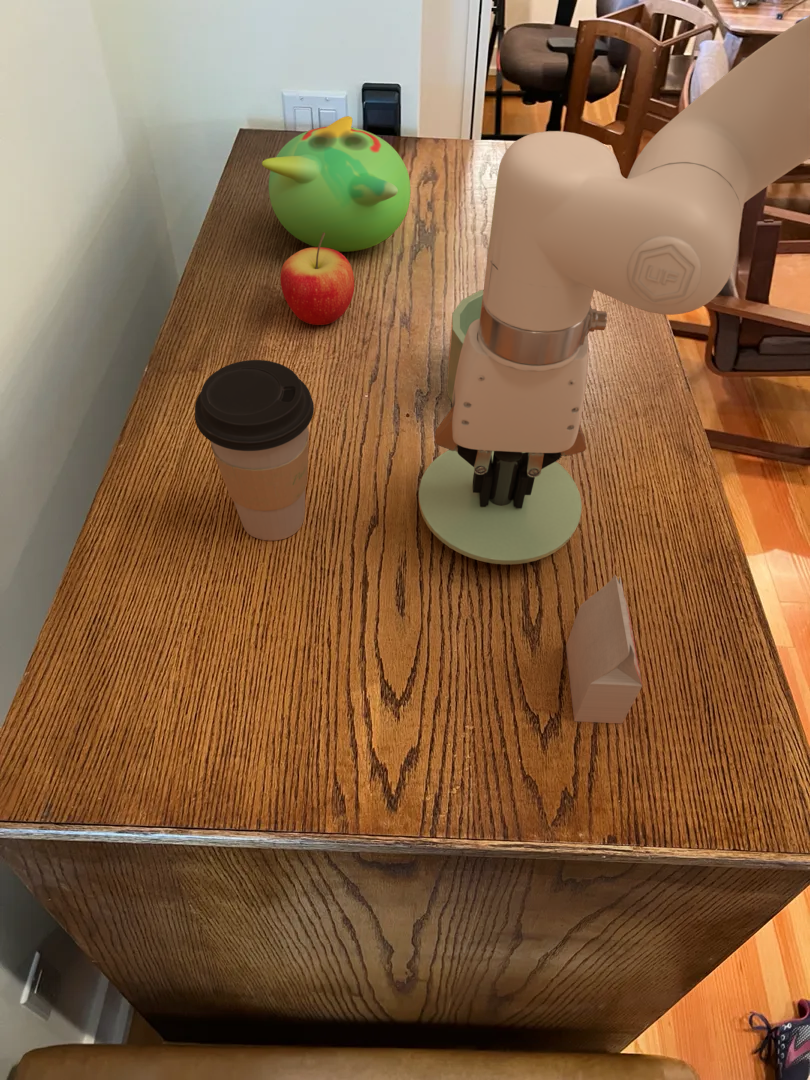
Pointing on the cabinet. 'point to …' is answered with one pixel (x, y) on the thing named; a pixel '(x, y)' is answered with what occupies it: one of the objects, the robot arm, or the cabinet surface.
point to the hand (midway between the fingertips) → (500, 494)
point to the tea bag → (603, 658)
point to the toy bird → (339, 187)
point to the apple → (317, 284)
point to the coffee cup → (260, 442)
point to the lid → (499, 509)
